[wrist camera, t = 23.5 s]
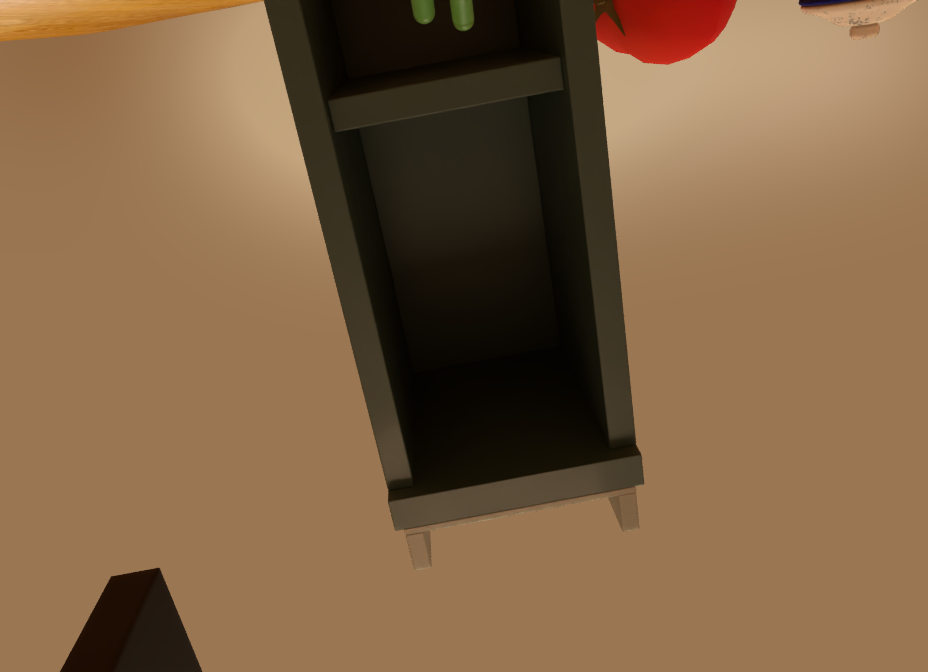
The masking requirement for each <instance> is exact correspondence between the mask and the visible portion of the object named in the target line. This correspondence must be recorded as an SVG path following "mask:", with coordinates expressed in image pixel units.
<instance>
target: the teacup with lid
mask: <svg viewBox="0 0 928 672" xmlns="http://www.w3.org/2000/svg"><path fill="white" fill-rule="evenodd" d="M915 1H917V0H799V5H801V10H802V12H803V13H805V14H810V15H816V16H819V17H823V18H825V19H827V20H829V21H831V22H832V23H834V24H836V25H840V26H852V27H851V29H850V37H851V39H853V40H860V39H868V38H873V37H875V36H877V35H878V34H879V30H880V26H879V24H878V22H881V21H885V20H888V19H890V18H892V17H894V16H895V15H897V14H898V13H899V12H900V11H902V10H903V9H904V8H905V7H907V6H908V5H910V4H912V3H913V2H915Z"/></svg>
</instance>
